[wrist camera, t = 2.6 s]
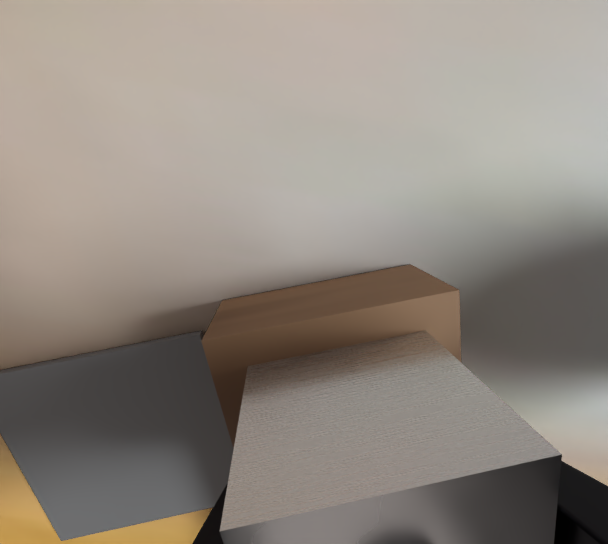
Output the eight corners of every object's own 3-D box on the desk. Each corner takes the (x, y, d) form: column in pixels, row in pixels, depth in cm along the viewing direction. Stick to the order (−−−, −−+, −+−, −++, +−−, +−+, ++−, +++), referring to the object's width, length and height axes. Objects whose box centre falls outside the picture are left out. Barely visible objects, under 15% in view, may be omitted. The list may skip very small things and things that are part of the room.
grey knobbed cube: (434, 467, 9) (574, 711, 5) (282, 501, 9) (287, 787, 5) (425, 330, 8) (607, 495, 4) (247, 366, 8) (210, 588, 3)
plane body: (435, 608, 16) (470, 698, 13) (312, 638, 16) (319, 737, 13) (410, 264, 11) (459, 290, 8) (222, 300, 10) (201, 340, 8)
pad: (249, 492, 13) (249, 499, 13) (66, 533, 12) (60, 541, 12) (202, 330, 11) (200, 334, 10) (-22, 374, 10) (-31, 379, 10)
